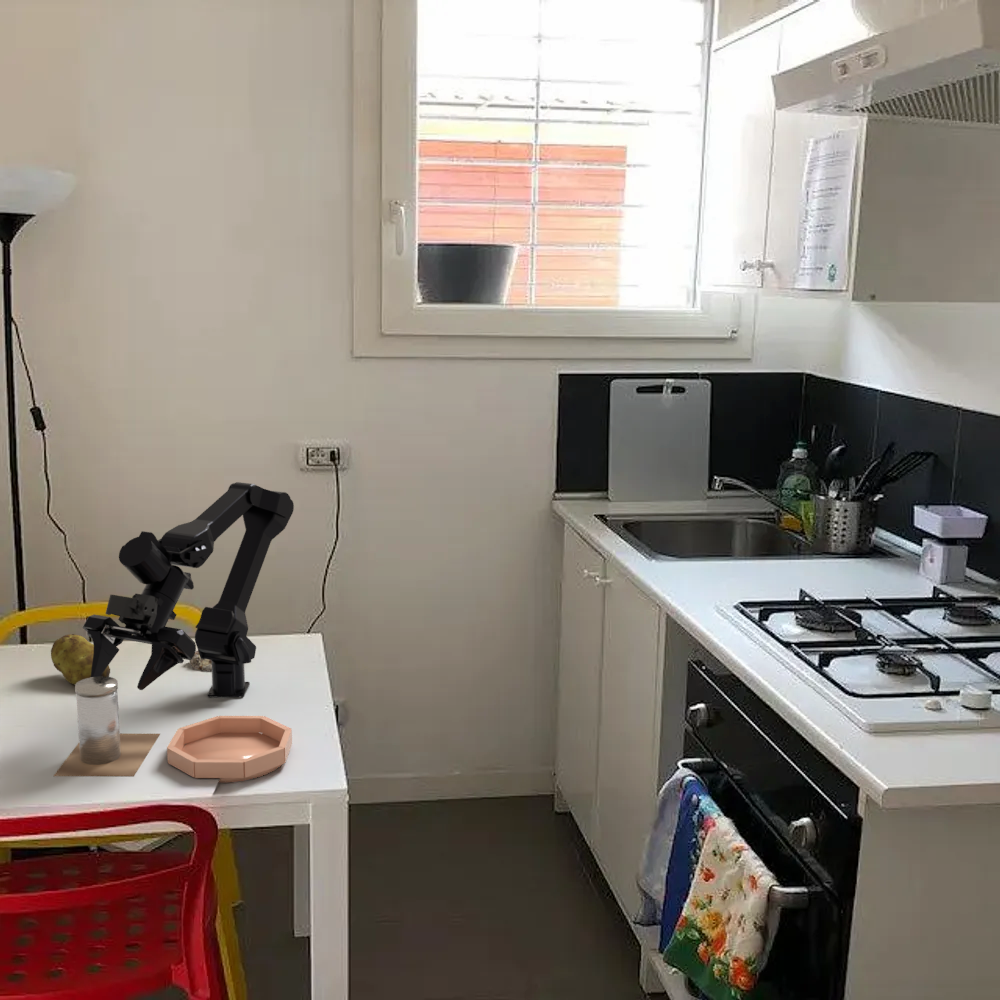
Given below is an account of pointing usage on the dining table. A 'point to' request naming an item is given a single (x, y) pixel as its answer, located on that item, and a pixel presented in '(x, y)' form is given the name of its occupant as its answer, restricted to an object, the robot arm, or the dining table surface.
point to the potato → (74, 658)
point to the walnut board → (125, 765)
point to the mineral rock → (200, 663)
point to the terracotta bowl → (230, 747)
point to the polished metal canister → (98, 720)
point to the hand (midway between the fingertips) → (115, 684)
